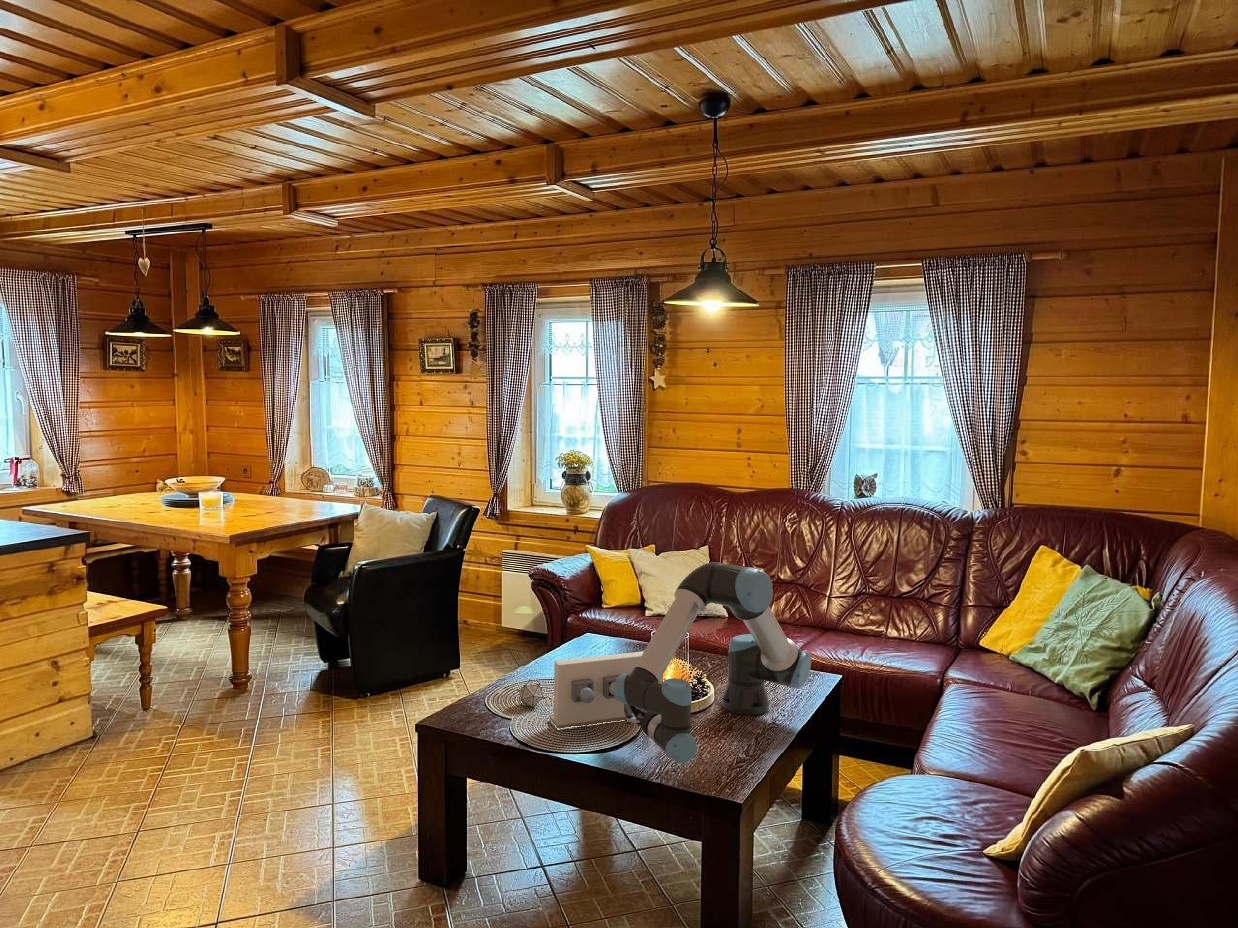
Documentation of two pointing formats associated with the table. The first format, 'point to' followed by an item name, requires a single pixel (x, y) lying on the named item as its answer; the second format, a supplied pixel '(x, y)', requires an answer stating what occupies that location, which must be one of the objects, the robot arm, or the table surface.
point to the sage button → (611, 687)
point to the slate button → (586, 695)
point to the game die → (531, 694)
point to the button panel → (596, 677)
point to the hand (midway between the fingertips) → (625, 696)
